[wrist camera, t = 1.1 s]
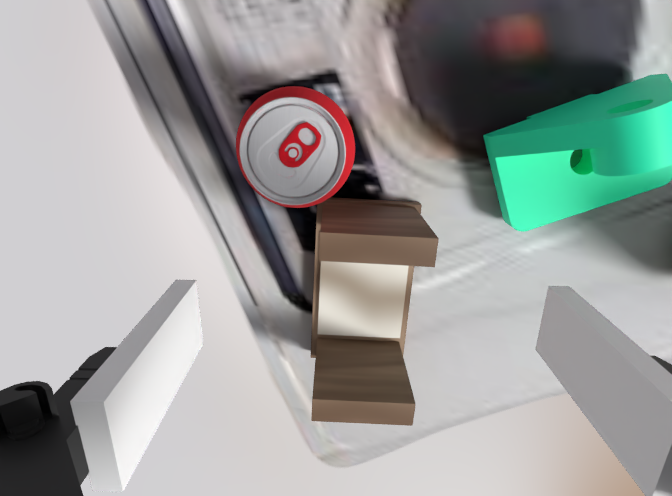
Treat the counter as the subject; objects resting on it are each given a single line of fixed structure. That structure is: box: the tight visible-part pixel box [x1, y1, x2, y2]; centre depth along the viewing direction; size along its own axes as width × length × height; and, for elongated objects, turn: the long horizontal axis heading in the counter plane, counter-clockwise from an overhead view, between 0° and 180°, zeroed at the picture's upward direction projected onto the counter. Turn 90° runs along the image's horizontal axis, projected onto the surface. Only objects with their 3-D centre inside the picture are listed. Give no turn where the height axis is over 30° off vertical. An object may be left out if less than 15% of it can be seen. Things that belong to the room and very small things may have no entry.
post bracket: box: [311, 197, 438, 425], centre depth 32 cm, size 14×8×9 cm, turn 177°
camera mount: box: [483, 74, 672, 231], centre depth 28 cm, size 12×8×10 cm, turn 110°
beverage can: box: [236, 86, 355, 208], centre depth 26 cm, size 6×6×12 cm
